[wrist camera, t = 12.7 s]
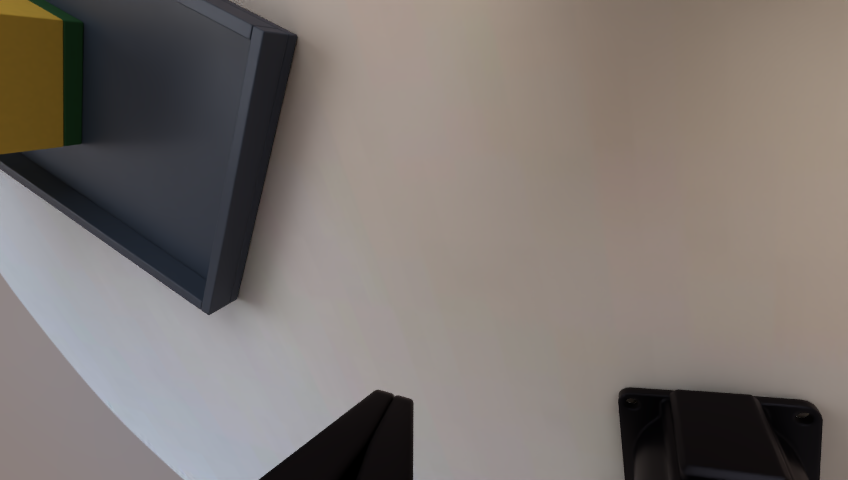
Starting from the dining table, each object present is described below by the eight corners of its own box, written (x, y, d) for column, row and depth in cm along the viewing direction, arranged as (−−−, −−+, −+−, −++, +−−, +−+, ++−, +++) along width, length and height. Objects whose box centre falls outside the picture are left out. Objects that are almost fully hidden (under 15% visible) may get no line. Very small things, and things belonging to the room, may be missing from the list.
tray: (298, 35, 19) (264, 31, 18) (237, 299, 26) (208, 315, 24) (-67, -151, 24) (-123, -169, 23) (-37, 112, 31) (-78, 114, 30)
